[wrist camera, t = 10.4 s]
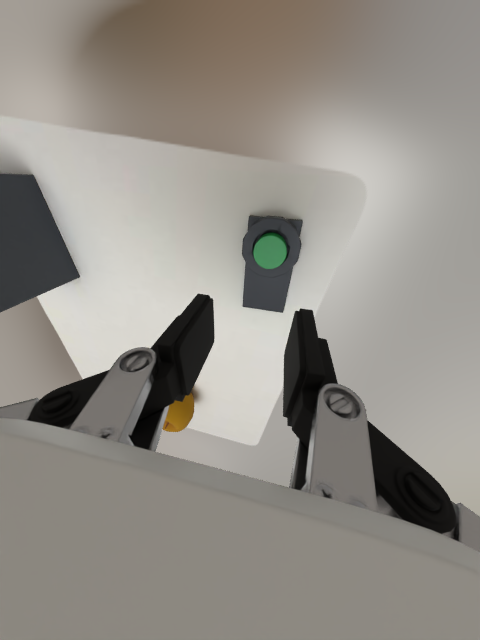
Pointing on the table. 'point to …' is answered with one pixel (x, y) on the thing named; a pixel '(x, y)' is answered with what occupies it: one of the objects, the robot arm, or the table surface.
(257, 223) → the button block
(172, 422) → the apple
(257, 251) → the button
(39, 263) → the dial panel
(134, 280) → the table surface
